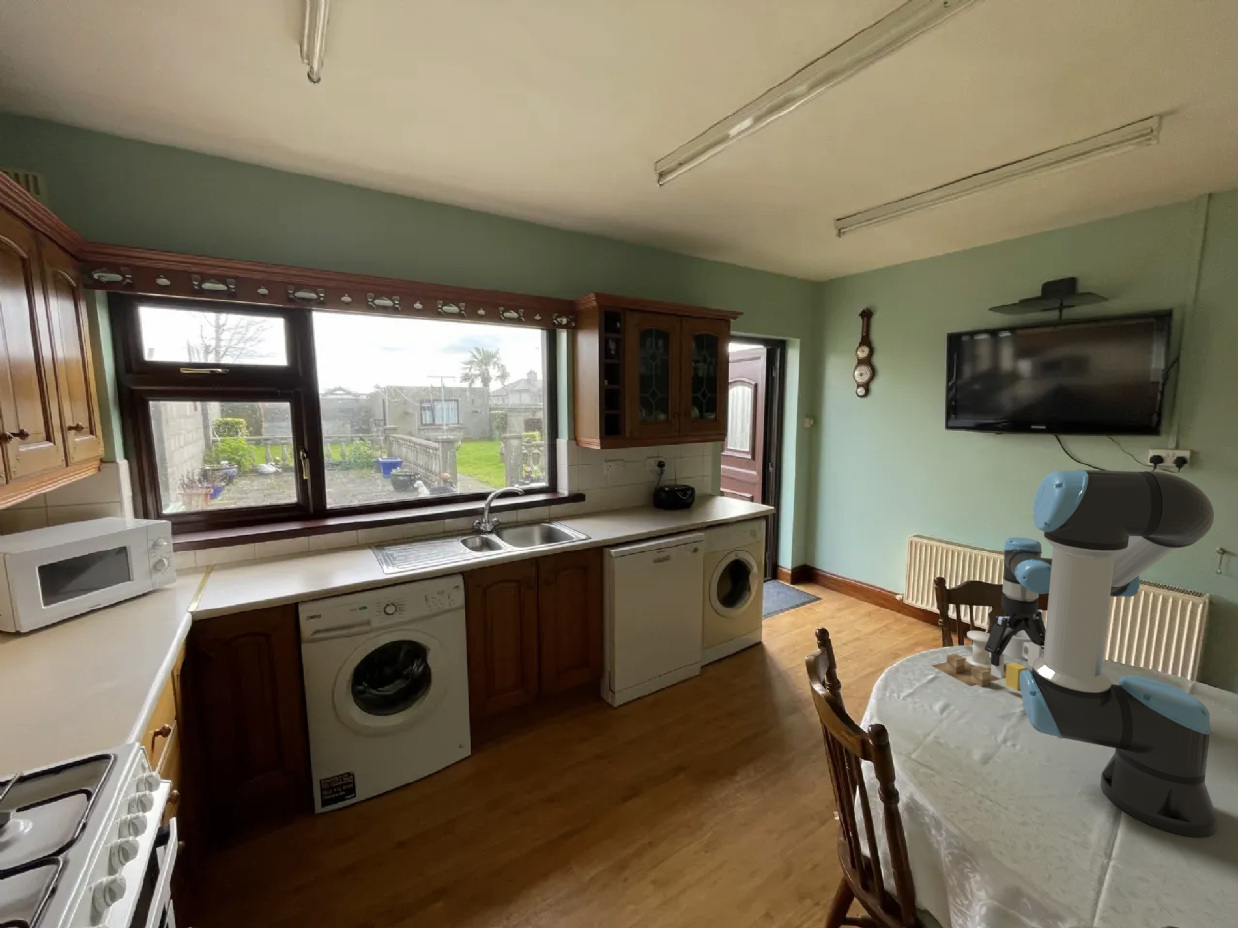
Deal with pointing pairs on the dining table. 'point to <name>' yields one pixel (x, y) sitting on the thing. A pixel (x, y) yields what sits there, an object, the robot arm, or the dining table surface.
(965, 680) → the board
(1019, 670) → the yellow rectangular block
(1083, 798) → the dining table surface
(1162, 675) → the dining table surface
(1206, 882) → the dining table surface
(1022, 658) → the cup
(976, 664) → the knob
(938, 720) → the dining table surface
